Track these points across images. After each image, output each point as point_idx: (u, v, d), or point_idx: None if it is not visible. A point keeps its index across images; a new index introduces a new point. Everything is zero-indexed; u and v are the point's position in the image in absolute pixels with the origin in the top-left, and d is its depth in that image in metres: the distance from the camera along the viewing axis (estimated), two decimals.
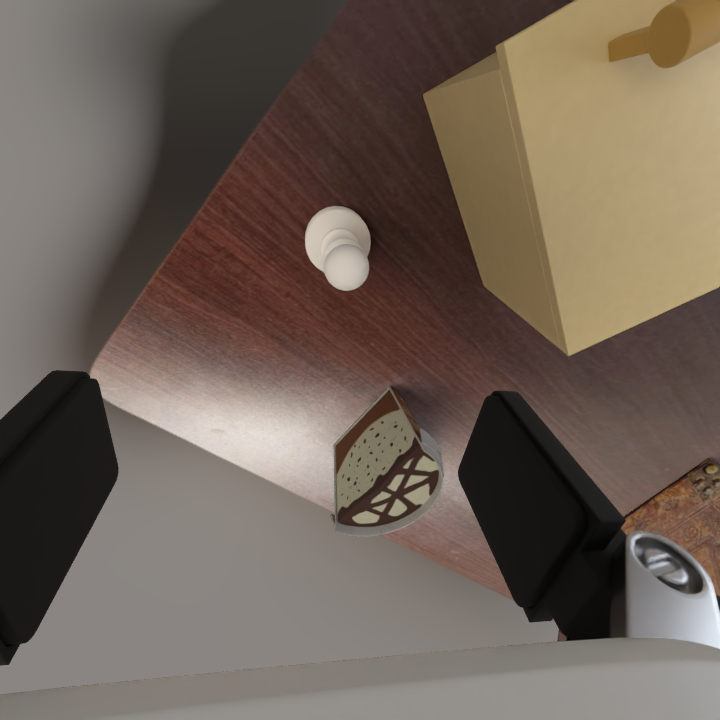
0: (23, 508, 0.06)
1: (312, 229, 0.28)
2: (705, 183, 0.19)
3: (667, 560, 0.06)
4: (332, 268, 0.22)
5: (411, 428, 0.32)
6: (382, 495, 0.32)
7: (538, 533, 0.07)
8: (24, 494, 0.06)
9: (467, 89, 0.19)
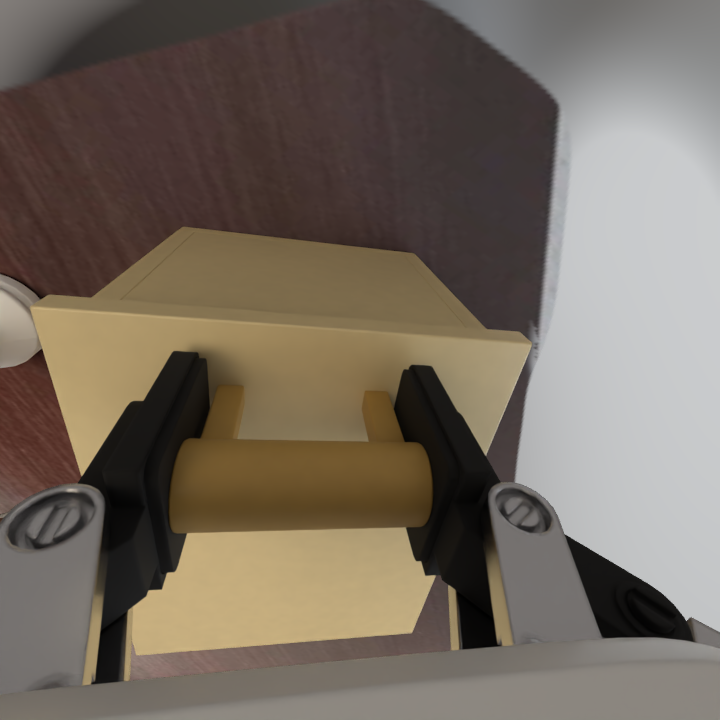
0: None
1: None
2: (338, 556, 0.15)
3: (521, 504, 0.07)
4: None
5: None
6: None
7: None
8: (178, 447, 0.07)
9: None
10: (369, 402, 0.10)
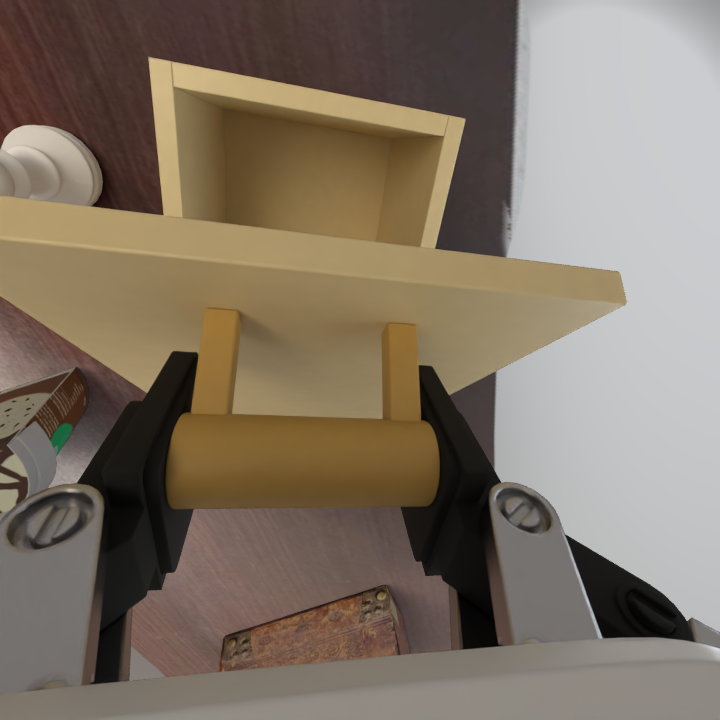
0: None
1: (14, 134, 0.22)
2: (343, 395, 0.16)
3: (522, 504, 0.07)
4: None
5: (31, 417, 0.26)
6: None
7: None
8: None
9: None
10: (391, 346, 0.09)
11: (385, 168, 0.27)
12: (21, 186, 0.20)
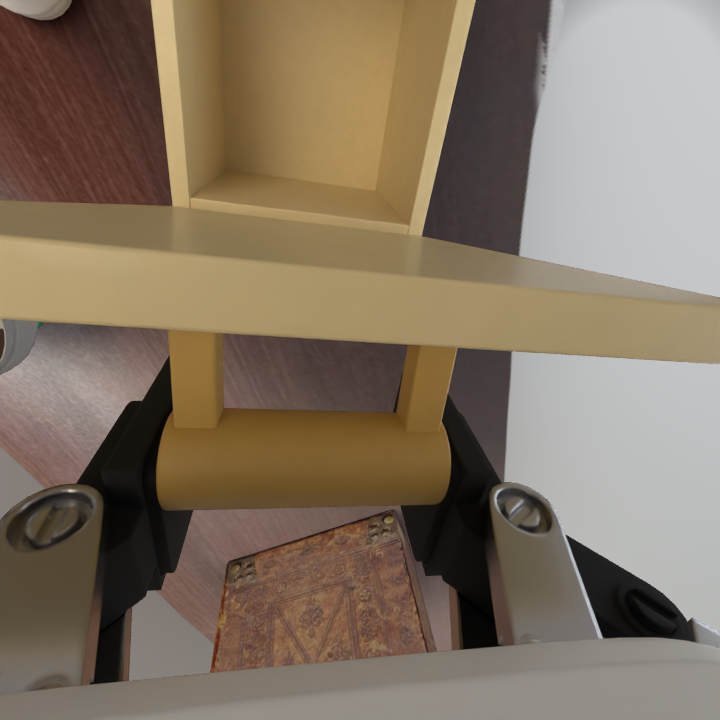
0: None
1: None
2: None
3: (522, 504, 0.07)
4: None
5: None
6: None
7: None
8: None
9: None
10: (423, 346, 0.06)
11: None
12: None
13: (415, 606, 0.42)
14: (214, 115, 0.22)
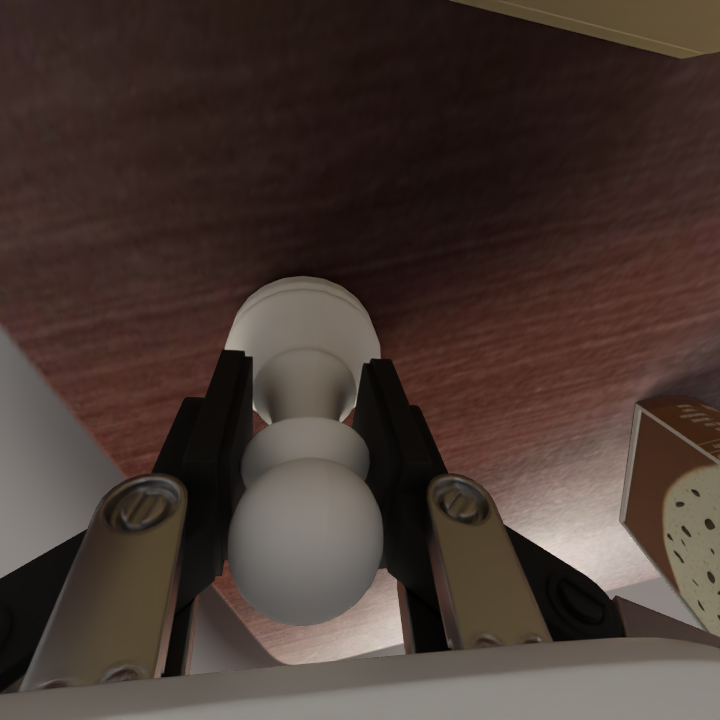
0: (237, 452, 0.08)
1: None
2: None
3: (459, 494, 0.07)
4: None
5: None
6: None
7: (376, 482, 0.08)
8: (238, 441, 0.08)
9: None
10: None
11: None
12: (323, 439, 0.08)
13: None
14: None
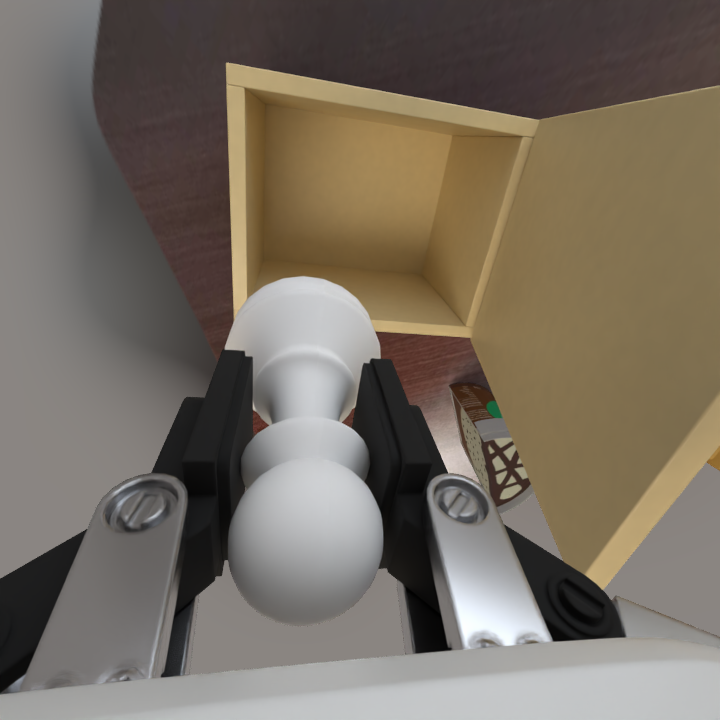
0: (237, 452, 0.08)
1: None
2: None
3: (459, 494, 0.07)
4: None
5: (472, 422, 0.36)
6: (500, 476, 0.37)
7: (376, 482, 0.08)
8: (238, 441, 0.08)
9: None
10: None
11: (291, 110, 0.27)
12: (323, 440, 0.08)
13: None
14: (394, 284, 0.31)
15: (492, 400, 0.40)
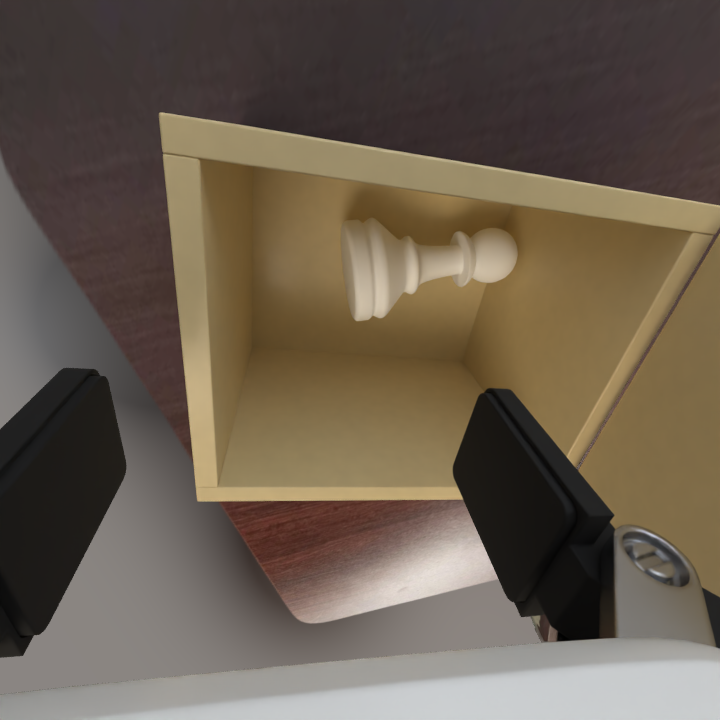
0: (37, 502, 0.06)
1: (392, 297, 0.18)
2: None
3: (654, 554, 0.06)
4: None
5: None
6: None
7: (529, 528, 0.07)
8: (38, 488, 0.06)
9: None
10: None
11: None
12: None
13: None
14: (431, 388, 0.22)
15: None
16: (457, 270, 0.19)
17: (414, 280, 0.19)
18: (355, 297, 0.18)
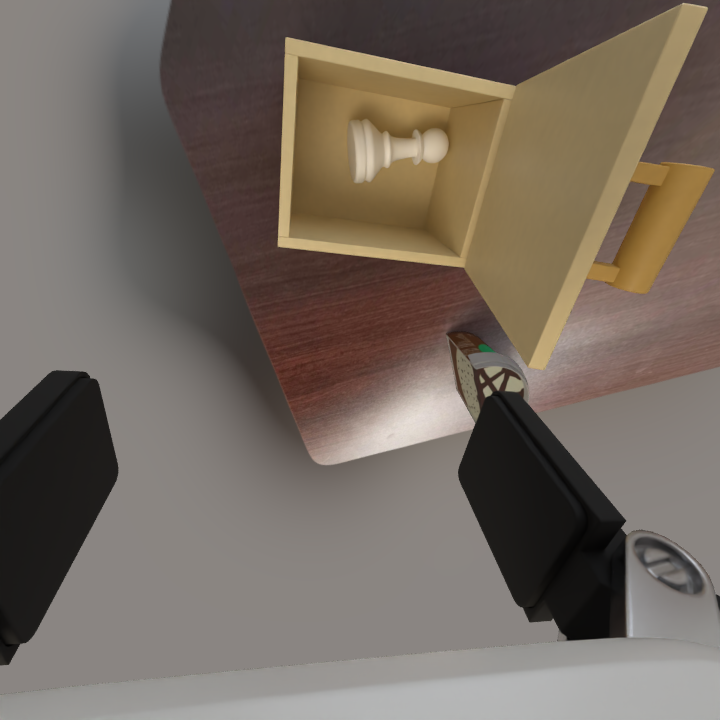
0: (23, 508, 0.06)
1: (376, 162, 0.33)
2: None
3: (667, 560, 0.06)
4: (446, 152, 0.34)
5: (466, 357, 0.42)
6: None
7: (538, 533, 0.07)
8: (24, 494, 0.06)
9: None
10: None
11: (319, 84, 0.33)
12: None
13: None
14: (402, 232, 0.37)
15: (483, 344, 0.46)
16: (413, 151, 0.34)
17: (389, 154, 0.33)
18: (356, 160, 0.32)
